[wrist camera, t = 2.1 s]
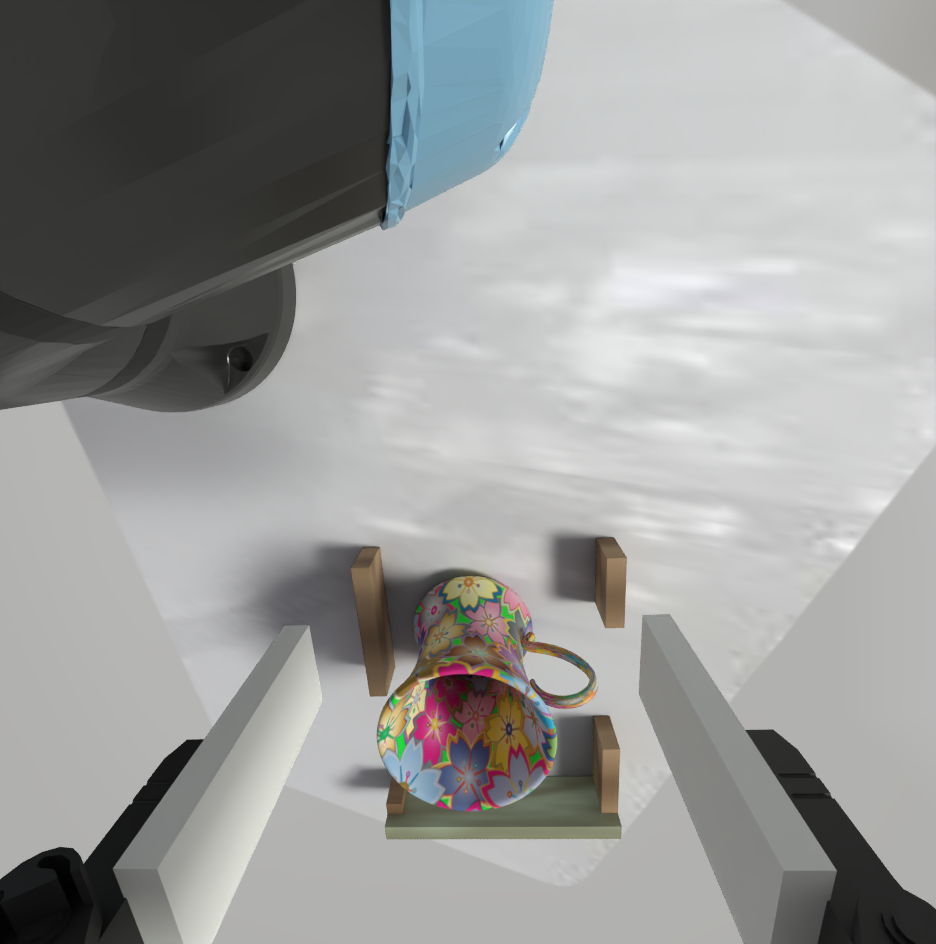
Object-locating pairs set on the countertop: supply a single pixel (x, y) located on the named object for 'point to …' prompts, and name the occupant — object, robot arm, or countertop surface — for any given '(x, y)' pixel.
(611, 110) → the countertop surface
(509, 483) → the countertop surface
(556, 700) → the mug
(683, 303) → the countertop surface
